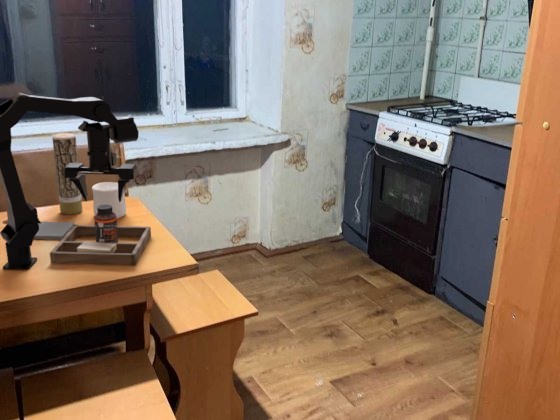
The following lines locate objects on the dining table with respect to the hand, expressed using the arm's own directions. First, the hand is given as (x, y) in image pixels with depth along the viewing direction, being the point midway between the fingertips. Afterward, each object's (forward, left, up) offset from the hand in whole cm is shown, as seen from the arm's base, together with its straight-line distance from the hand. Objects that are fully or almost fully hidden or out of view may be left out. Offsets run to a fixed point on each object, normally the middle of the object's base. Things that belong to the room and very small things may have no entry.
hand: (103, 201), depth 163 cm
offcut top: (-10, 0, -11) cm, 14 cm away
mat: (+8, +19, -13) cm, 24 cm away
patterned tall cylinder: (+25, +18, -13) cm, 34 cm away
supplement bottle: (0, 0, -13) cm, 13 cm away
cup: (+23, +5, -13) cm, 27 cm away
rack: (-4, 0, -13) cm, 13 cm away
